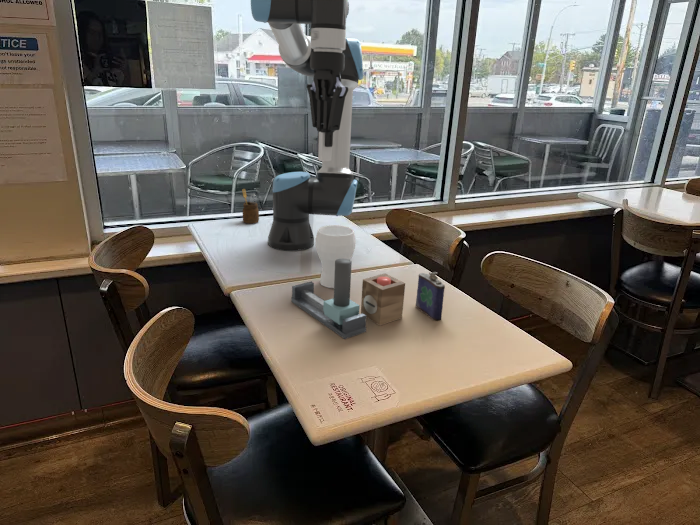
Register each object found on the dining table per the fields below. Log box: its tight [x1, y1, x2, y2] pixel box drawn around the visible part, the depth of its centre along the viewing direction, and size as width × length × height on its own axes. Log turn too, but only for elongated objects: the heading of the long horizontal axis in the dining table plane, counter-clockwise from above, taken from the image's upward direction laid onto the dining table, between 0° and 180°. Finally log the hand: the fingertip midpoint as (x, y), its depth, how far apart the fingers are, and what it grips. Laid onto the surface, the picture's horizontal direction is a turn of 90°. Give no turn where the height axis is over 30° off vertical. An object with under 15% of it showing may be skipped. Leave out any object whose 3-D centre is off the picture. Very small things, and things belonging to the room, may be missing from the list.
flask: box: [415, 271, 446, 322], centre depth 119 cm, size 9×3×11 cm, turn 26°
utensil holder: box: [241, 188, 260, 225], centre depth 183 cm, size 6×6×12 cm
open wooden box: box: [360, 273, 406, 326], centre depth 116 cm, size 7×8×9 cm
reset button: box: [377, 277, 391, 286], centre depth 115 cm, size 3×3×4 cm
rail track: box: [291, 281, 367, 340], centre depth 116 cm, size 22×6×4 cm, turn 38°
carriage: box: [323, 259, 361, 325], centre depth 110 cm, size 6×6×13 cm
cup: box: [314, 224, 357, 289], centre depth 133 cm, size 11×11×15 cm
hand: (324, 160), depth 116 cm, fingers closed
